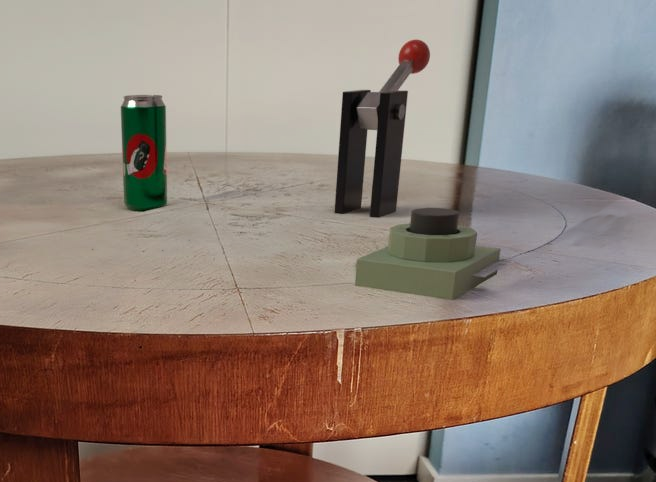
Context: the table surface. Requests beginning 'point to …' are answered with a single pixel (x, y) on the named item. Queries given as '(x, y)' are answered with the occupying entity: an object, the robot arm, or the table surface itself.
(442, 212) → the button
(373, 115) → the lever
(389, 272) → the control block
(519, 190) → the table surface
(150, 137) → the soda can
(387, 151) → the bracket
